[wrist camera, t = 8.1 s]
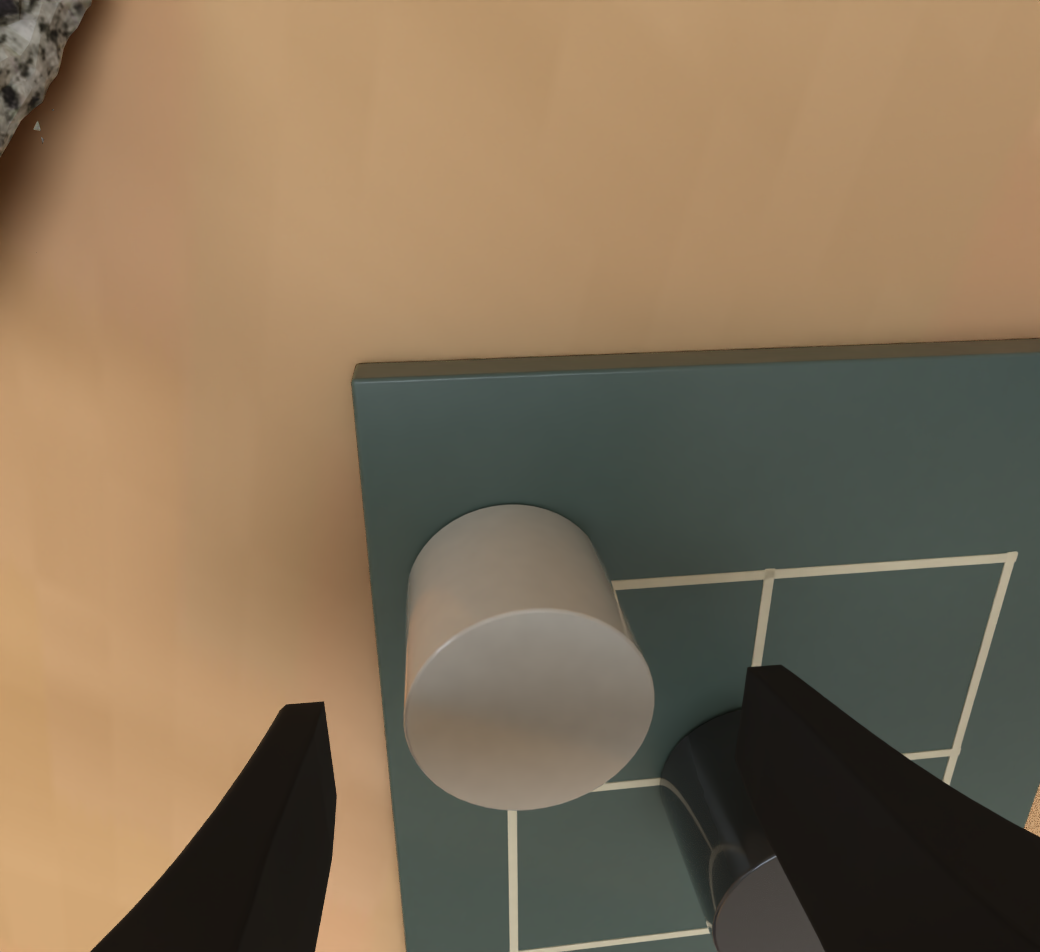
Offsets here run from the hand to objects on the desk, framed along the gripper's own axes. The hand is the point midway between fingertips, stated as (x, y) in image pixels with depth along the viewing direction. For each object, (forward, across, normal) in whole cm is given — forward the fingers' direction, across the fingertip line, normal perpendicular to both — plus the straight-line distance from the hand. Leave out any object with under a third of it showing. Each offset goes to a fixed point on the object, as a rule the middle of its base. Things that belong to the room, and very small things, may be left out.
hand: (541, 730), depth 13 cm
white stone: (+4, 0, 0) cm, 4 cm away
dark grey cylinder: (+4, -6, +6) cm, 9 cm away
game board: (+6, -6, +6) cm, 10 cm away
